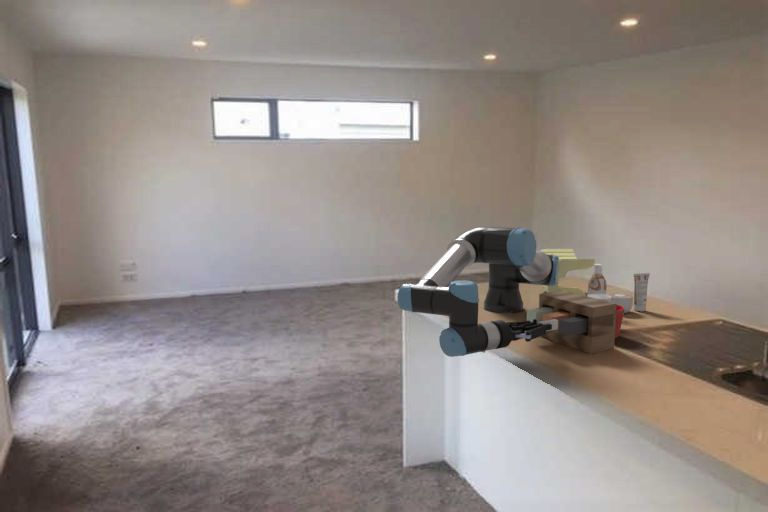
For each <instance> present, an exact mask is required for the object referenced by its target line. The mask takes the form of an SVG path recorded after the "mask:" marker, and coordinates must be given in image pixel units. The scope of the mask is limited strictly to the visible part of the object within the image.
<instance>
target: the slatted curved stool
mask: <svg viewBox="0 0 768 512" xmlns="http://www.w3.org/2000/svg"><path fill="white" fill-rule="evenodd" d="M540 251H542V252H544V253H545V254H547V255H551V254H553V255H557V256H558V257H559V270H558V278H557V283H556V285H554V286H545V285H541V288H542V290H544V292H545V293H548V292H555V291H566V292H570V293H575V294H579V295H583V296H587V294H586V292H585V291H583V290H582V289H580V288H579V287H569V286H566V287H565V286H559V285H558V284H559V281H560V279H563V278H566V275H567V273H568V272H570V271H579V270H588V269H591V268H593V267H594V264H596V263H595V262H596V261H595V258H583V259H581V258H578V257H577V256H576V253H575V251H574V249H573V248H544V249H541V250H540Z"/></svg>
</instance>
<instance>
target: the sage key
mask: <svg viewBox="0 0 768 512" xmlns="http://www.w3.org/2000/svg"><path fill="white" fill-rule="evenodd" d="M549 313H554V307H552V306H547V307H541V308H539V307H536V308H530V309H526V321H531V322H533V319H536V320H537V323H538V322H540V321H543V314H549Z"/></svg>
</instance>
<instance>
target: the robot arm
mask: <svg viewBox="0 0 768 512" xmlns="http://www.w3.org/2000/svg"><path fill="white" fill-rule="evenodd" d="M477 263H479V264H488V290H487V293H486V295H485V299H484V301H483V308H484V309H485V310H487V311H491V312H496V313H516V312H521V311H522V310H524V302H523V297H522V293H521V292H520V284H523V285H525V284H526V285H535V286H536V285H538V286H542V285H545V286H554V285H556V283H557V278H558V270H559V257H558V256H557V255H553V254H551V255H547V254H545V253H544V252H542V251H541V250H537V239H536V236H535V234H534V232H533V231H532V230H531V229H528V228H524V227H501V226H498V227H497V226H495V227H494V226H478V227H477V226H476V227H474V228H470V229H468V230H467V231H464V232H462V233H461V234H459V235H458V236H456V237H455V238H454V239H453V240H451V241H450V242H449V244H448V246H447V248H446V251H445V252H444V253H443V254H442V255H441V256H440V258H439V259H438V260H437V261H436V262H434V264H433V265H432V266H431V267H430V268H429V269H428V270H427V271H426V272H424V274H423V275H422V276H421V277H420V278H419V279H418V281H417V282H415V283H403V284H401V286H400V287H399V289H398V292H397V305H398V307H399V308H400V309H401V310H403V311H406V312H411V313H419V314H428V315H429V314H430V315H435V316H436V315H438V316H445V317H448V327H447V328H444V329H442V330H441V332H440V335H439V338H438V339H439V347H440V349H441V351H442V353H443V354H445V356H448V357H450V358H451V357H452V358H454V357H460V356H461V357H463V356H466V355H472V354H476V353H483V354H485V353H486V351H491V350H498V349H505V348H507V347H509V346H510V344H511V342H512V341H513V342H515V341H519V340H522V339H524V340H525V342H531V340H534V339H535V340H536V339H537V338H540V337H541V336H543V335H546V331H551V330H557V329H558V320H556V319H552V320H546V321H540V322H538V323H537V320H536V319H533V322H531V321H527V320H523V321H522V320H521V321H520V320H519V321H510V322H506V321H505V320H502V319H499V320H492V321H486V322H480V323H479V302H480V298H479V285H478V283H476V282H475V281H472V280H465V279H463V280H456V279H457V277H458V276H459V275H460V274H461V273H462V272H463V270H464V269H466V268H468V267H471V266H472V265H473V264H477Z"/></svg>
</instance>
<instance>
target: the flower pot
mask: <svg viewBox="0 0 768 512" xmlns="http://www.w3.org/2000/svg"><path fill="white" fill-rule="evenodd" d="M624 309H625V308H624V307H623V306H621V305H616V324H615V339H616V338H618V337H619V335H620V332H621V328H622V322H623V318H624V314H625V313H624Z"/></svg>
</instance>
